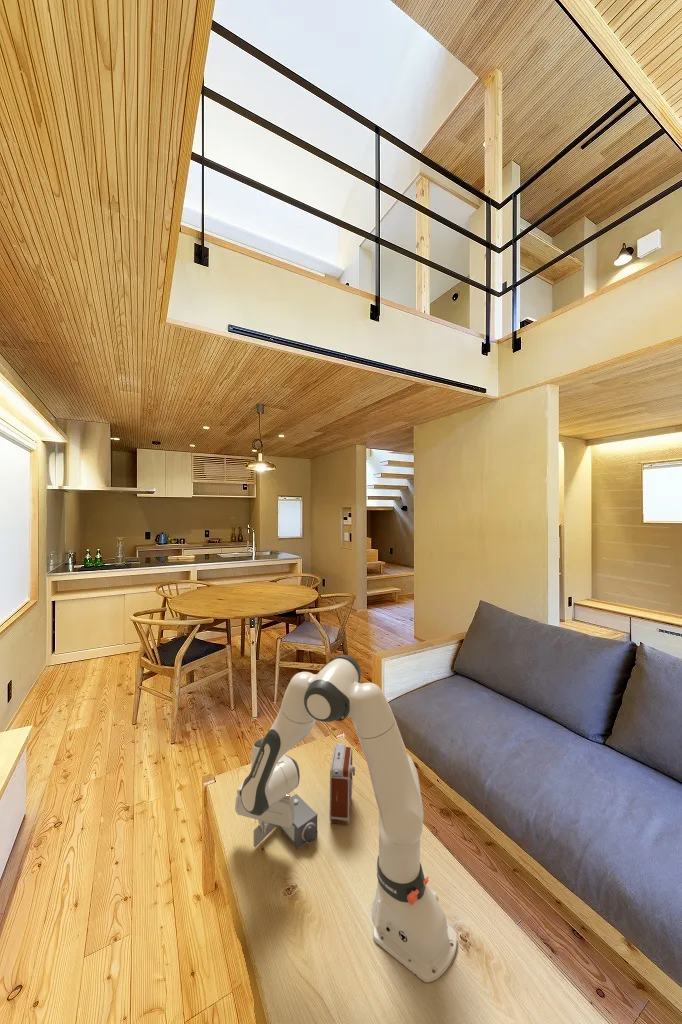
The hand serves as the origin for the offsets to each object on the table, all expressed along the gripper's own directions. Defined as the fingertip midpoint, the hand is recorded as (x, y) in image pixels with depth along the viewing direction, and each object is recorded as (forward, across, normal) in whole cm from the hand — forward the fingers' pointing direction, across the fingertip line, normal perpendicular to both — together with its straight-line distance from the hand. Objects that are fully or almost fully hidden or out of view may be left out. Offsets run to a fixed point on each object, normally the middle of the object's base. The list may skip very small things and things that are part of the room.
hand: (264, 831), depth 122 cm
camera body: (+4, -9, -8) cm, 12 cm away
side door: (+4, +1, -2) cm, 4 cm away
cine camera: (+4, -19, -24) cm, 31 cm away
